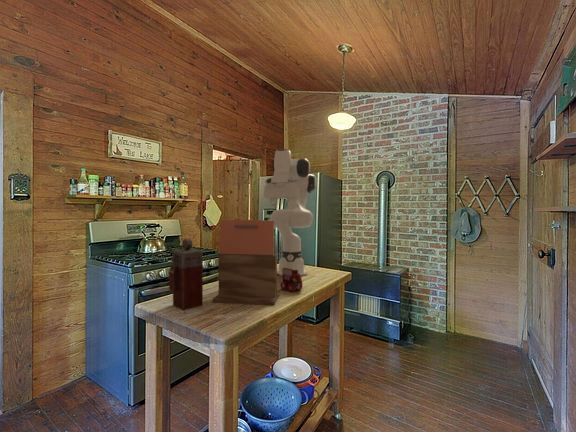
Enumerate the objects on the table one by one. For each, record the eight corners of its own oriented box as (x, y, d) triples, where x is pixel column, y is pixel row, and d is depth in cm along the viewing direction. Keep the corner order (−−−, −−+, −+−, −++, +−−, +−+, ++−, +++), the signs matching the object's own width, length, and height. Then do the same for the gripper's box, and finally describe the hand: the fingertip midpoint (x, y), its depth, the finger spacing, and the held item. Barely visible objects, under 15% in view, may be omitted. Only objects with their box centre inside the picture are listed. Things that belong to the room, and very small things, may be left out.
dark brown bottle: (167, 306, 127) (166, 239, 126) (192, 300, 135) (191, 237, 134) (177, 311, 121) (176, 241, 120) (203, 305, 129) (202, 238, 128)
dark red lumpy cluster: (296, 294, 146) (296, 272, 145) (277, 288, 154) (277, 268, 153) (305, 290, 151) (305, 269, 150) (287, 286, 159) (287, 266, 159)
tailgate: (221, 252, 139) (221, 219, 138) (273, 254, 136) (273, 220, 135) (219, 253, 137) (219, 220, 136) (272, 255, 133) (273, 220, 133)
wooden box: (223, 292, 147) (223, 251, 146) (279, 295, 143) (279, 252, 142) (212, 302, 133) (212, 256, 132) (274, 305, 129) (274, 258, 128)
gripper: (302, 180, 154) (301, 207, 153) (269, 182, 165) (268, 207, 165) (296, 177, 149) (295, 206, 148) (262, 180, 160) (261, 206, 159)
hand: (280, 207), depth 156 cm, fingers open, 8 cm apart
